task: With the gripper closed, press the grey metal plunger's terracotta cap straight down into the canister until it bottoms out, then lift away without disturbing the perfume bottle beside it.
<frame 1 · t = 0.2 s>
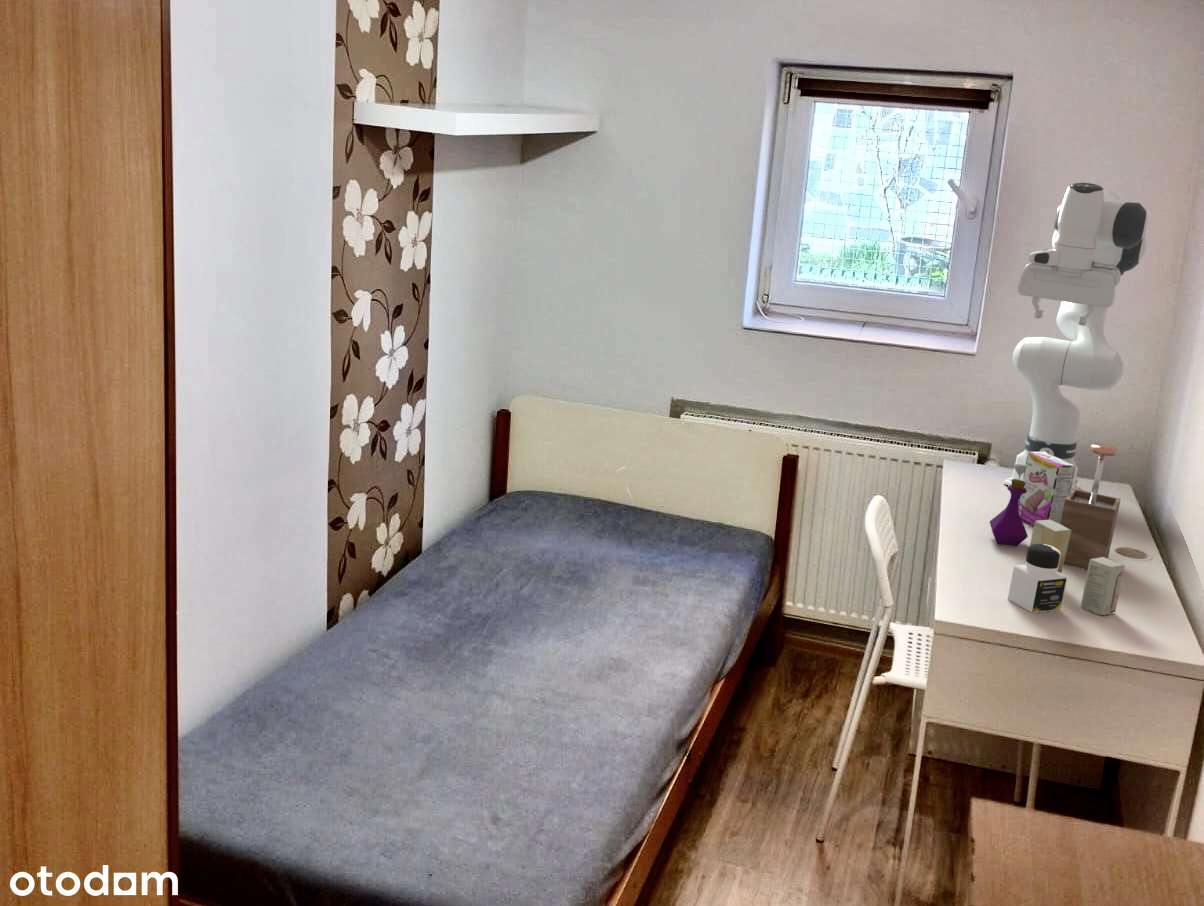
hand: (1060, 321, 278), 48 cm above the table, tool pointing down, fingers open, 8 cm apart
skincare box: (1097, 611, 243), on the table
plunger: (1097, 477, 265), point 19 cm above the table, slide at 0.0 cm
perfume bottle: (1005, 543, 277), on the table
canister: (1080, 560, 270), on the table
skincare box 2: (1041, 581, 256), on the table
candy bar box: (1037, 526, 292), on the table
medicine bottle: (1033, 606, 243), on the table
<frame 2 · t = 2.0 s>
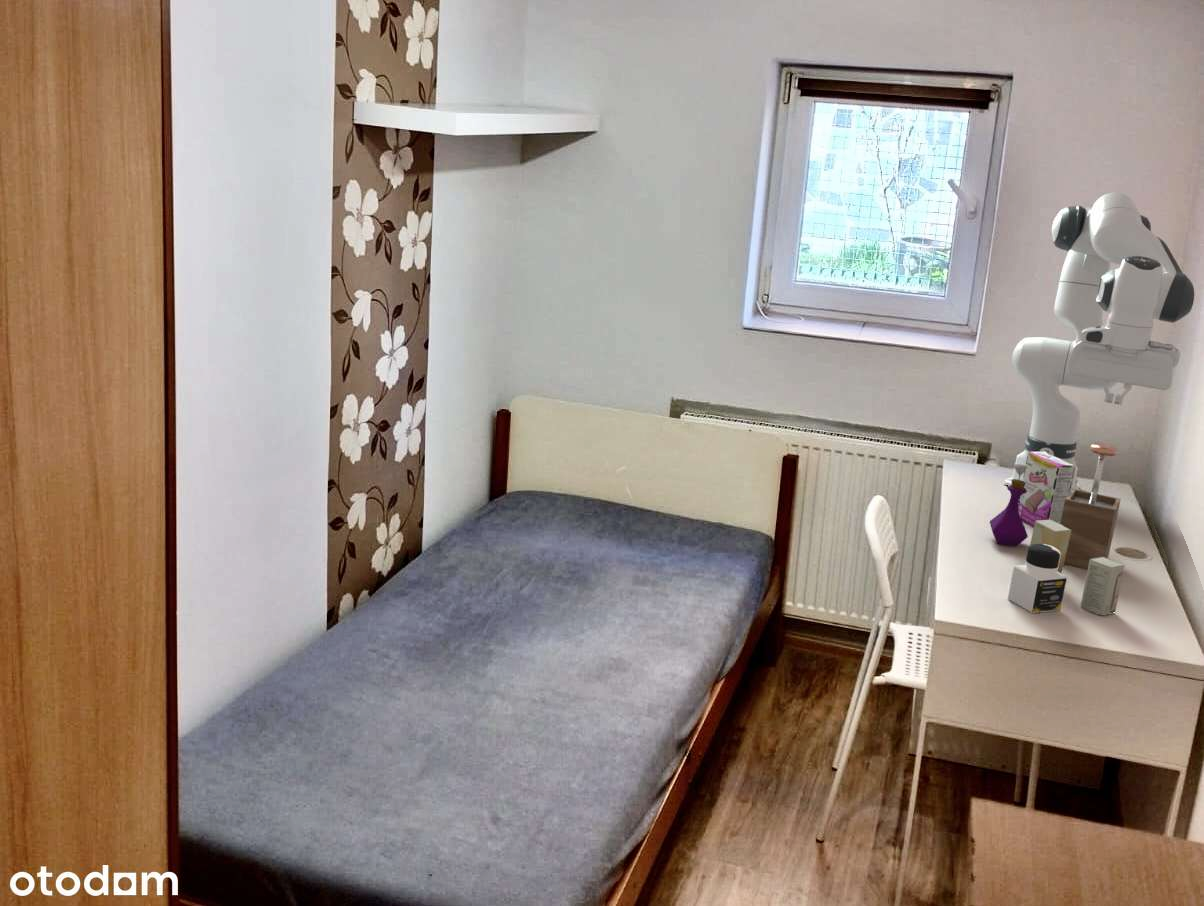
hand: (1113, 402, 260), 35 cm above the table, tool pointing down, fingers closed
nothing on the table moved.
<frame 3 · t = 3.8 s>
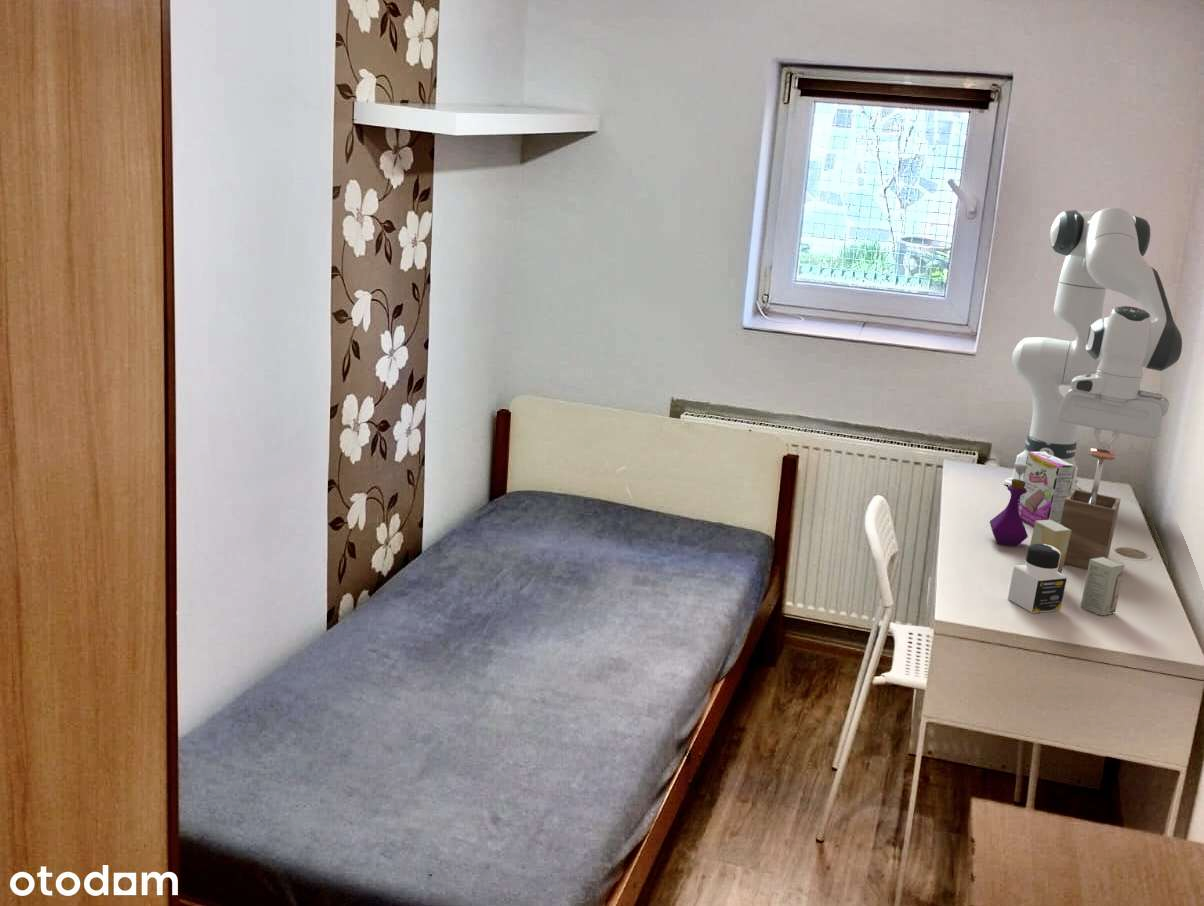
hand: (1103, 450, 263), 25 cm above the table, tool pointing down, fingers closed, pressing on plunger
plunger: (1096, 481, 265), point 18 cm above the table, slide at 0.9 cm, touching gripper
everything else where it was.
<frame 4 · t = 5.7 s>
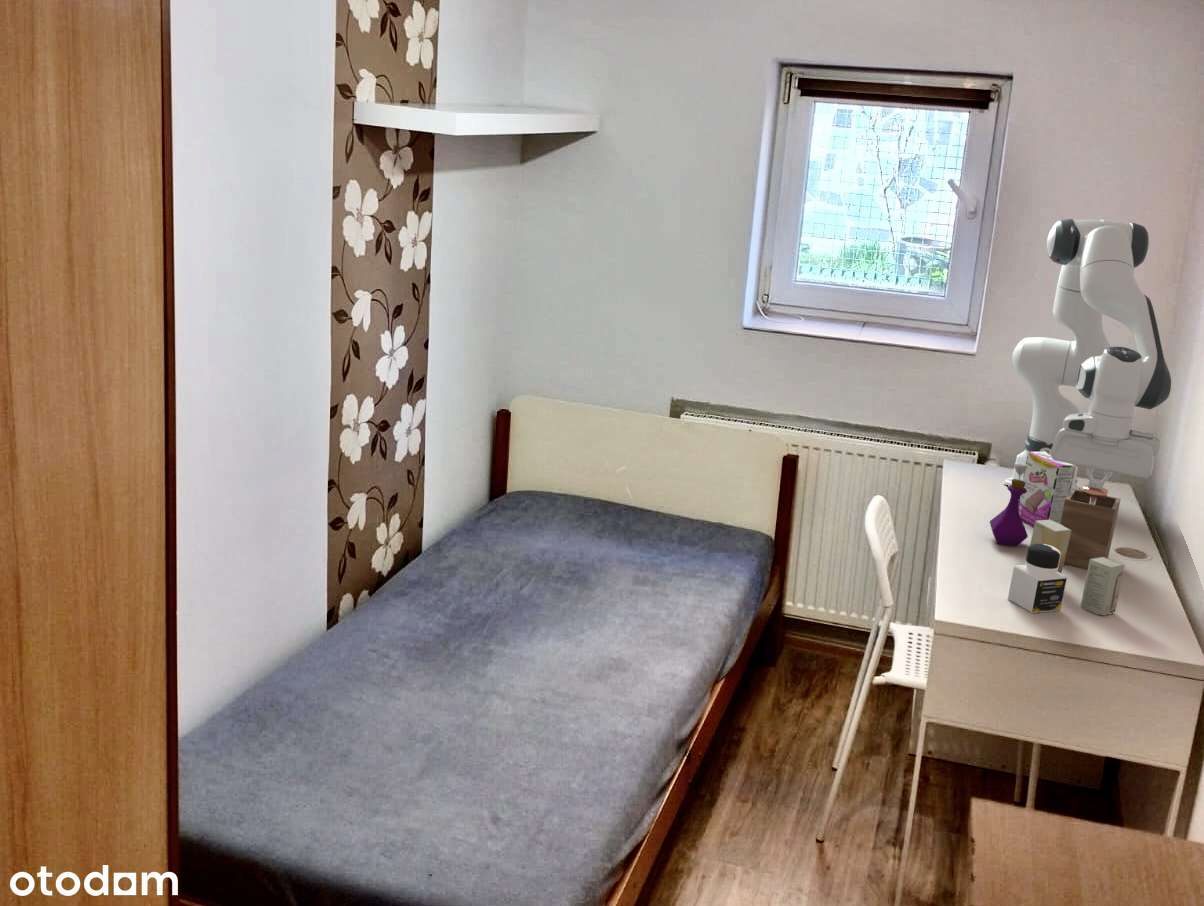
hand: (1095, 488, 265), 16 cm above the table, tool pointing down, fingers closed, pressing on plunger
plunger: (1089, 518, 267), point 10 cm above the table, slide at 9.2 cm, touching gripper
everything else where it was.
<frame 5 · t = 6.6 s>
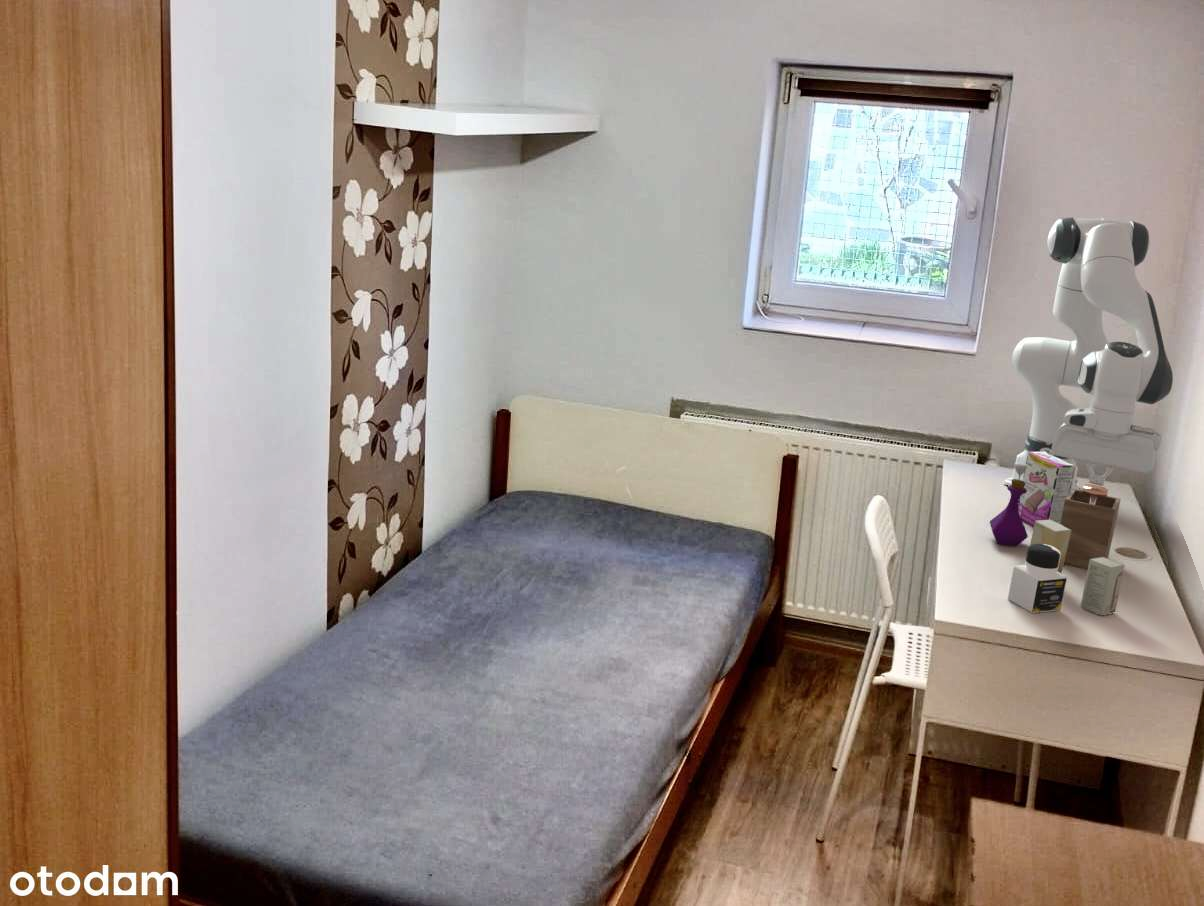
hand: (1096, 483, 265), 17 cm above the table, tool pointing down, fingers closed
plunger: (1089, 517, 267), point 10 cm above the table, slide at 9.1 cm
everything else where it was.
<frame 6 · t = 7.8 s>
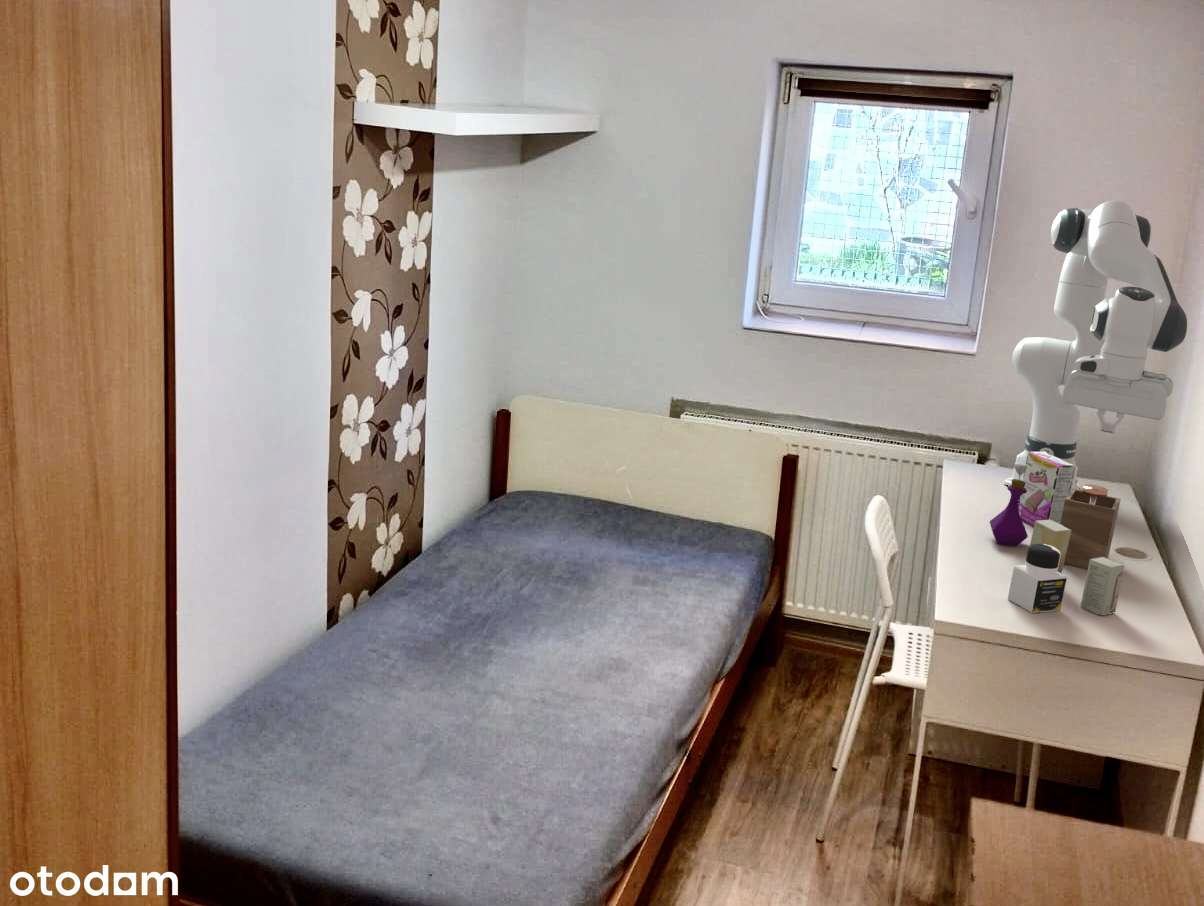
hand: (1107, 431, 262), 29 cm above the table, tool pointing down, fingers closed
nothing on the table moved.
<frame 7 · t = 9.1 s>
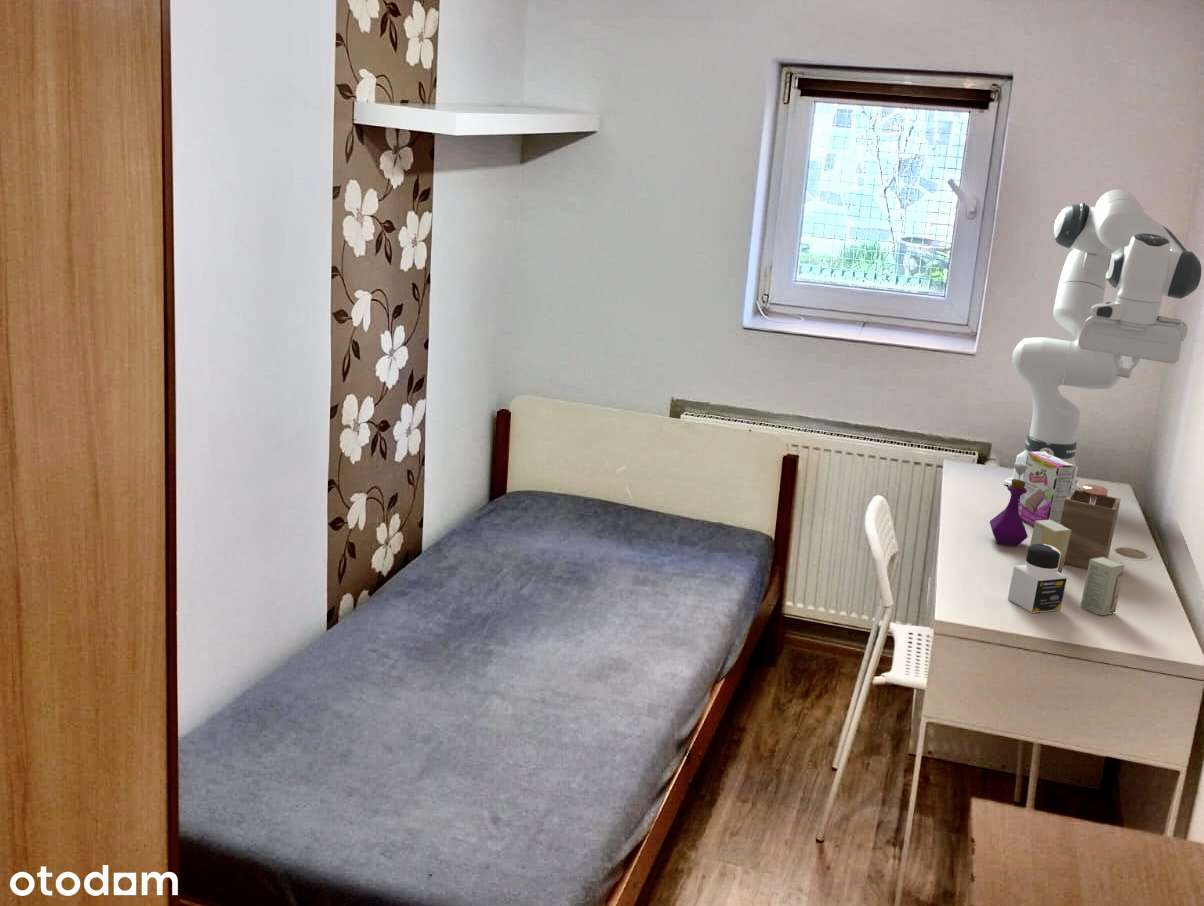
hand: (1122, 376, 268), 39 cm above the table, tool pointing down, fingers closed
nothing on the table moved.
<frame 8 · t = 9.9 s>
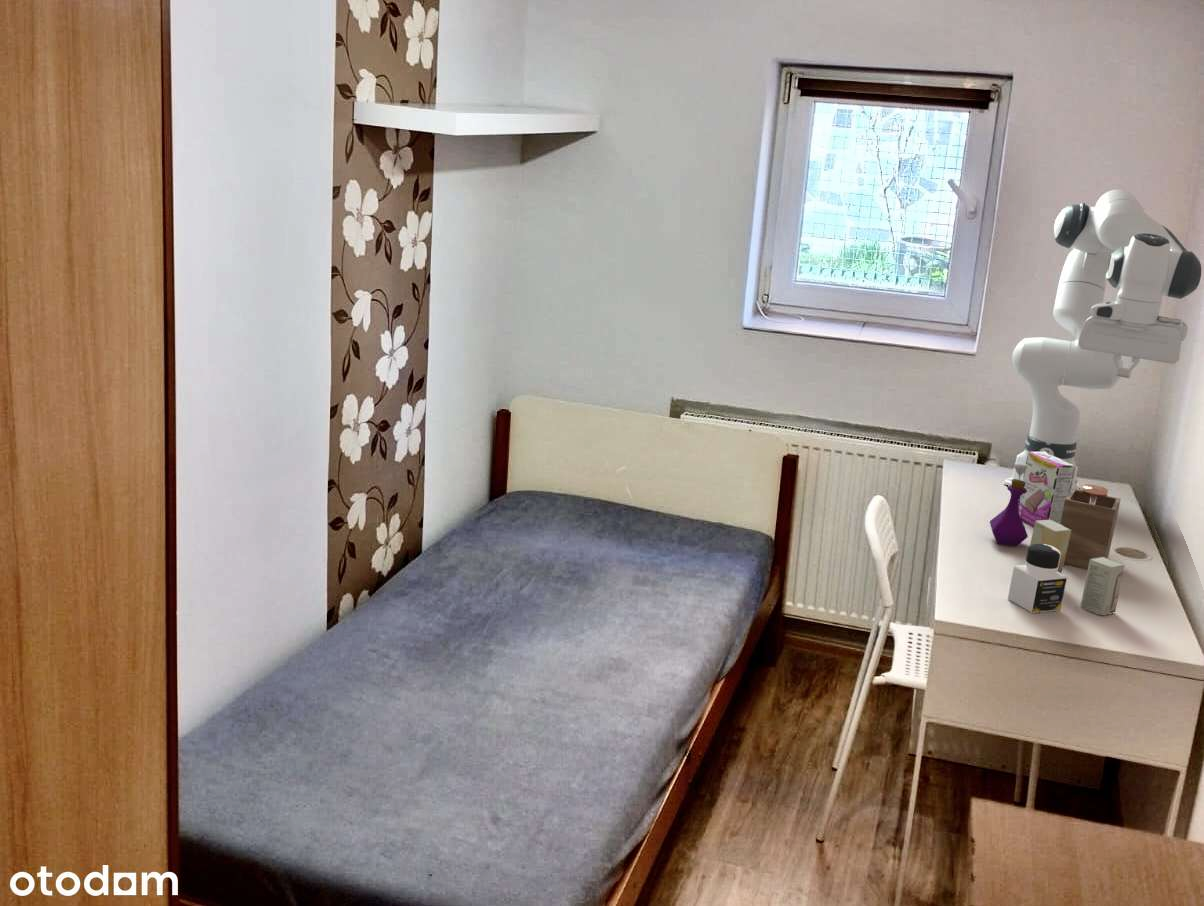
hand: (1122, 376, 268), 39 cm above the table, tool pointing down, fingers closed
nothing on the table moved.
at the end: plunger slide at 9.1 cm; perfume bottle moved 0.2 cm from its start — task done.
